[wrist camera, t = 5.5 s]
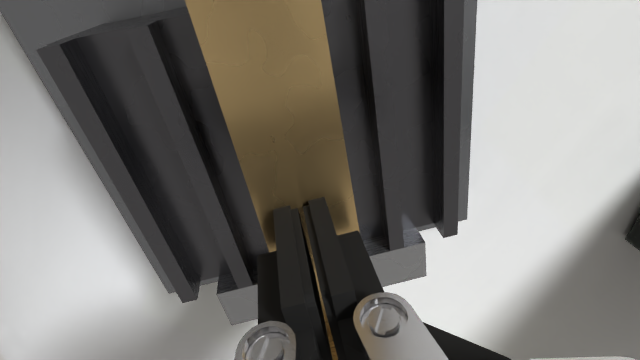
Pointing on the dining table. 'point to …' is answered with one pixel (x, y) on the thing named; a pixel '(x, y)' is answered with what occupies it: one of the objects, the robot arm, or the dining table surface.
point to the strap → (279, 107)
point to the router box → (635, 235)
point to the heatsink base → (216, 144)
